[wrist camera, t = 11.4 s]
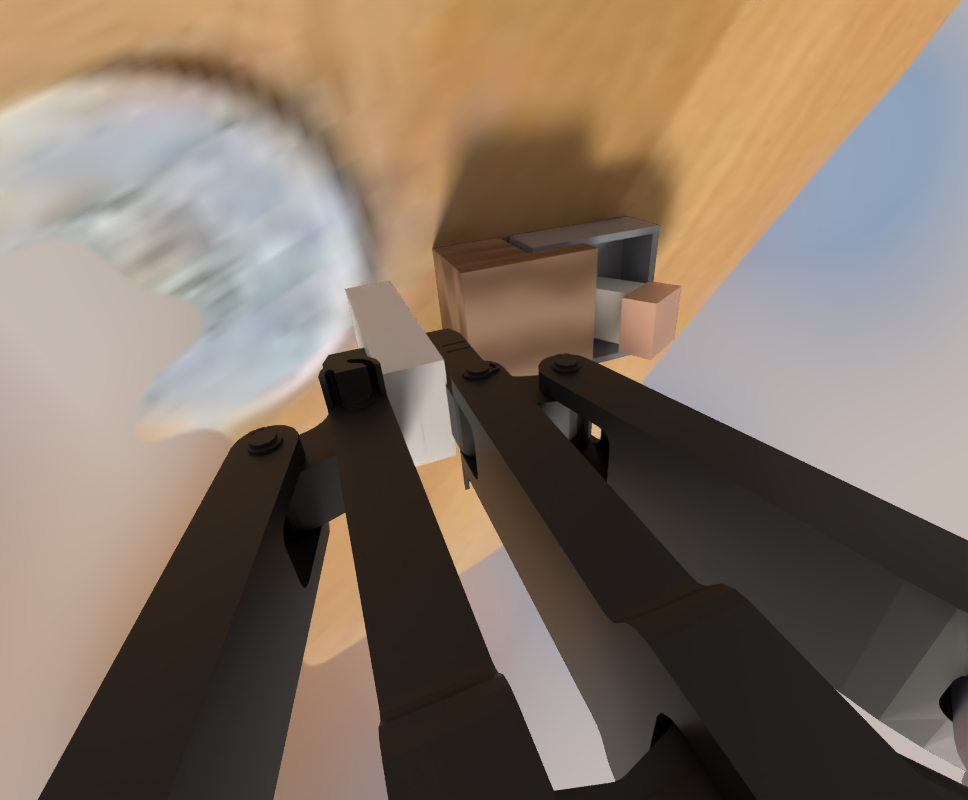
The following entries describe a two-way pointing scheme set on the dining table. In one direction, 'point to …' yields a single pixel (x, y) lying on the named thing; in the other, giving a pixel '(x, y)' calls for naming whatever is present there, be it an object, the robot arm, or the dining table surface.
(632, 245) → the bin
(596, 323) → the cream tile
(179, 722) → the robot arm
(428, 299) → the dining table surface
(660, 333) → the salmon pink square block
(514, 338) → the plate
